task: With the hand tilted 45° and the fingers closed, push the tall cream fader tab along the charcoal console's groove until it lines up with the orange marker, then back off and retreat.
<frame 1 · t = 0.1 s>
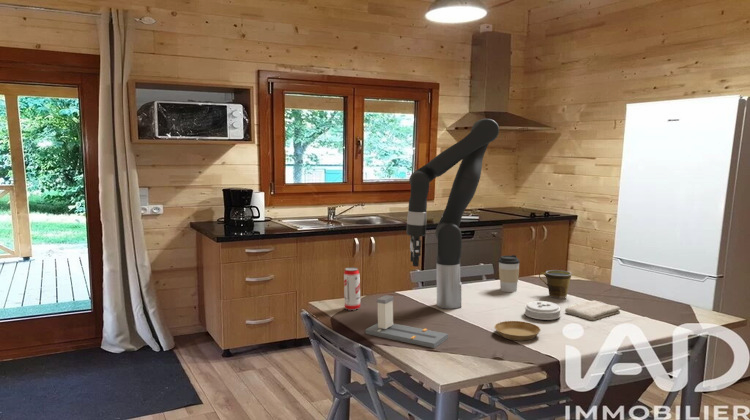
hand: (414, 263, 206), 17 cm above the table, tool pointing down, fingers open, 8 cm apart
lid: (542, 317, 194), on the table
ceramic cup: (554, 296, 219), on the table
beer can: (352, 309, 207), on the table
coffee cup: (508, 290, 230), on the table
fader tab: (385, 312, 180), point 7 cm above the table, slide at 0.0 cm
console: (406, 335, 176), on the table
plant saucer: (517, 335, 176), on the table
washcloth: (593, 314, 197), on the table
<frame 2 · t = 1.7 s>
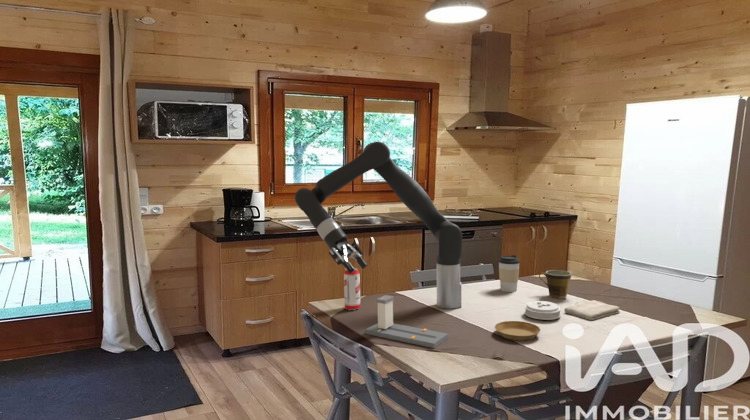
hand: (359, 269, 184), 21 cm above the table, tool tilted 45°, fingers open, 7 cm apart
nothing on the table moved.
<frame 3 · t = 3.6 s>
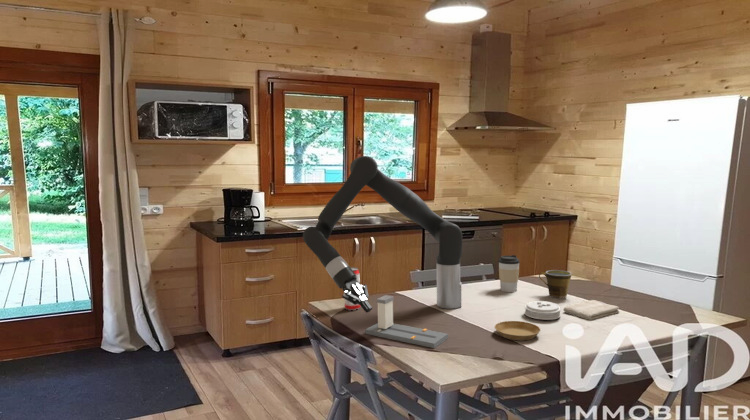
hand: (369, 310, 183), 6 cm above the table, tool tilted 45°, fingers closed
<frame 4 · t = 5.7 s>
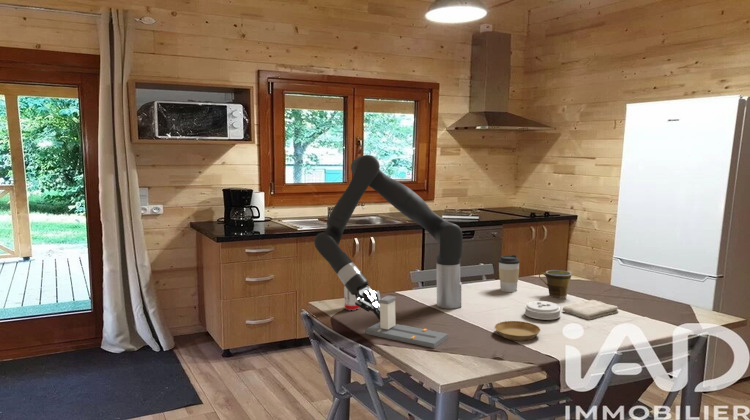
hand: (382, 317, 181), 5 cm above the table, tool tilted 45°, fingers closed
fader tab: (387, 312, 179), point 7 cm above the table, slide at 1.0 cm, touching gripper
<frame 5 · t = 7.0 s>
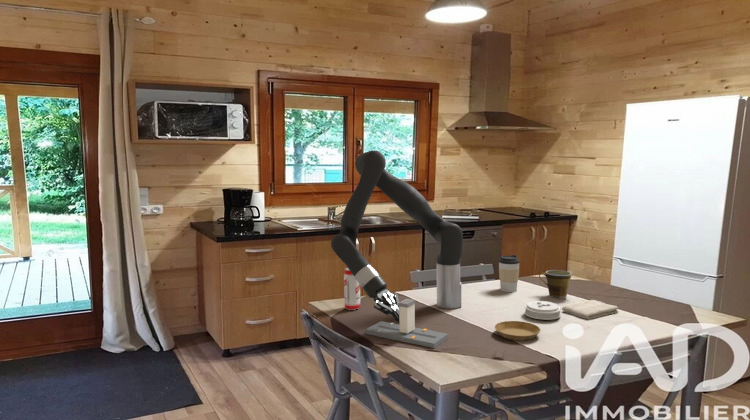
hand: (401, 321, 176), 5 cm above the table, tool tilted 45°, fingers closed
fader tab: (407, 315, 175), point 7 cm above the table, slide at 8.5 cm, touching gripper
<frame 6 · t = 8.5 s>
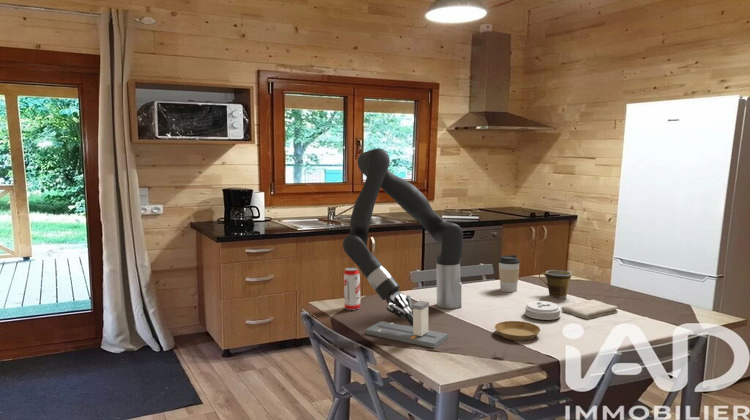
hand: (415, 323, 174), 5 cm above the table, tool tilted 45°, fingers closed
fader tab: (420, 318, 172), point 7 cm above the table, slide at 13.6 cm, touching gripper
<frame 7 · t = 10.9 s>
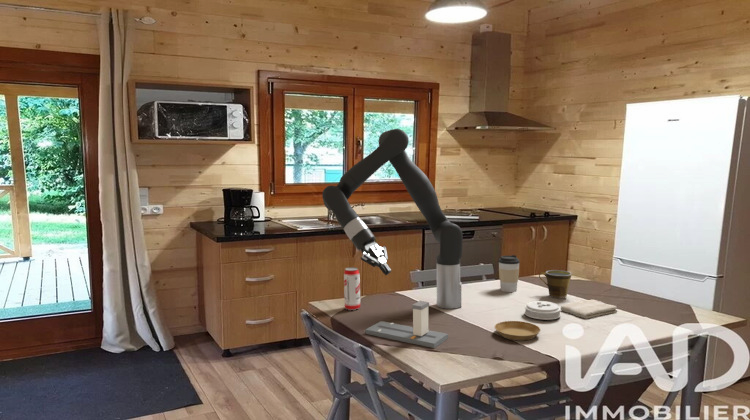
hand: (388, 273, 178), 20 cm above the table, tool tilted 40°, fingers closed
fader tab: (420, 318, 172), point 7 cm above the table, slide at 13.6 cm
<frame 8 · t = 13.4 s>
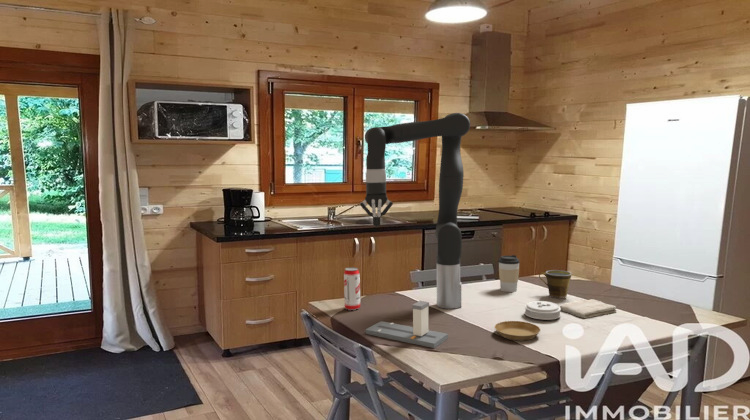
hand: (376, 226, 200), 33 cm above the table, tool pointing down, fingers closed
at the end: fader tab slide at 13.6 cm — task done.
